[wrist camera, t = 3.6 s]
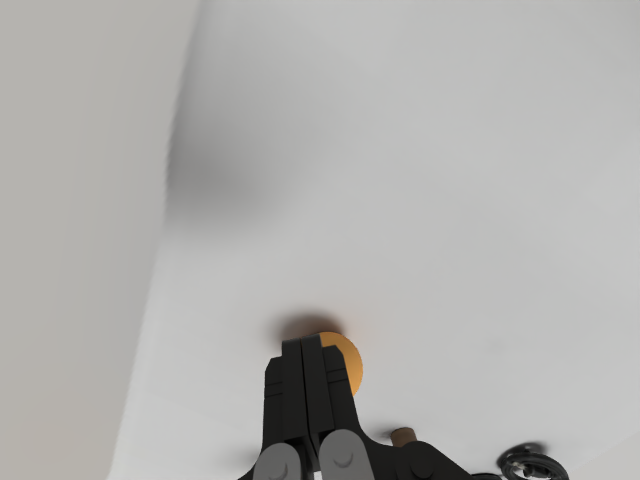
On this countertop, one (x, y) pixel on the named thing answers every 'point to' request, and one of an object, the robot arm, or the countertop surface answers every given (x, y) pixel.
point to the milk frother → (529, 467)
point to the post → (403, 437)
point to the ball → (346, 357)
